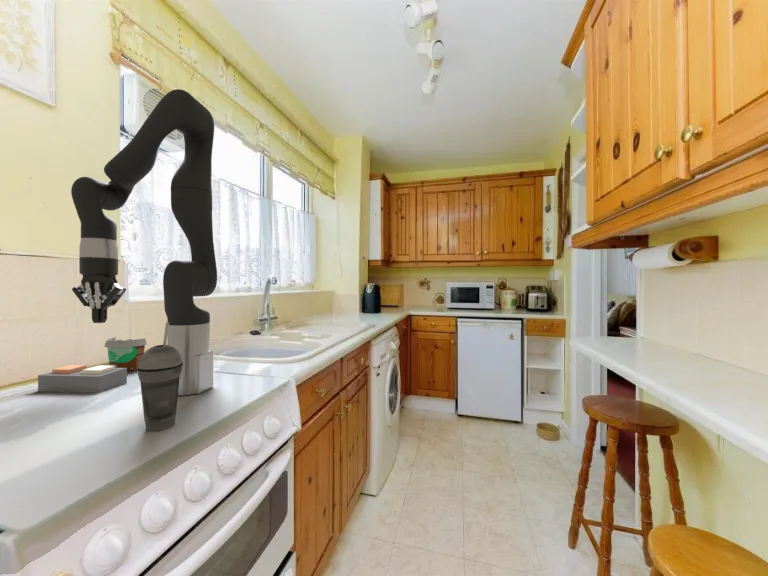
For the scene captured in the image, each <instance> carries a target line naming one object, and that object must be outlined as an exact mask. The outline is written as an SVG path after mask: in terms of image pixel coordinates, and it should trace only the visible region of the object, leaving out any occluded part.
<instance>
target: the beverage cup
mask: <svg viewBox="0 0 768 576" xmlns="http://www.w3.org/2000/svg"><path fill="white" fill-rule="evenodd" d="M168 327H169V322H168V321H165V326H164V334H163V335H164V336H163V341H162V342H163V343H162V344H159V345H153V346H151V347H150V348H148V349H147V350H144V354H143V355H142V356H141V358H140V360H139V363H138V367H137V371H136V372H137V376H138V379H139V382H140V391H141V401H142V410H143V419H144V424H145V425H144V426H145V430H146V432H160V431H165V430H168V429H169V428H171V427H173V426H174V425H175V423H176V422H175V420H176V417H177V409H178V408H177V407H178V389H179V379H180V375H181V371H182V365H183V362H182V357H181V355H180V353H179V351H178V350H177V349H175V348H174V347H172V346H169V345H167V343H168Z"/></svg>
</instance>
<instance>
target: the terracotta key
mask: <svg viewBox="0 0 768 576" xmlns="http://www.w3.org/2000/svg"><path fill="white" fill-rule="evenodd" d="M87 367H88V366H87V365H86V364H70V365H65V366H61V367H57V368H53V369H52V371H51V372H52V374H72V373H76V372H80V371H82V370H84V369H87Z"/></svg>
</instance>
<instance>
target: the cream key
mask: <svg viewBox="0 0 768 576" xmlns="http://www.w3.org/2000/svg"><path fill="white" fill-rule="evenodd" d="M91 367H92V368H88V369H84V370H82V375H101V374H104V373H107V372H111V371H114V370H115V366H109V365H95V366H91Z"/></svg>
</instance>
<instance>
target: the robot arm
mask: <svg viewBox="0 0 768 576" xmlns="http://www.w3.org/2000/svg"><path fill="white" fill-rule="evenodd" d="M175 131H178V132H179V133H181V134H182V135H183V140H184V157H183V159H182V162H181V163H180V166H179V167H178V168H177V169H176V171H175V172H174V174H173V177H172V179H171V182H170V207H171V211H172V213H173V217H174V218H175V220H176V221H177V223H178V225H179V227H180V228H181V230H182V231H183V234H184V235H185V237H186V239H187V241H188V244H189V247H190V258H191V260H181V259H180V260H177V259H176V260H172V261H170V262H169V263H168V264H167V265H166V267H165V268H164V271H163V276H162V287H163V303H164V304H163V307H164V311H165V316H166V318H167V322H169V327H168V335H167V343H166V345H169V346H172V347H174V348H175V349H177V350H178V351H179V353H180V355H181V357H182V362H183V365H182V371H181V375H180V379H179V389H178V396H188V395H189V396H190V395H195V394H196V395H199V394H202V393H204V392H205V391H207V390H208V389H210V388H212V387H214V351H213V350H210V349H211V348H210V346H211V345H210V341H211V339H210V337H211V335H210V334H211V333H210V331H211V329H210V328H211V323H210V322H211V317H210V316H211V315H210V312H209V311H207V310H205V309H202V308H199V307H198V306H197V305H196V304H195V302H194V298H195V297H207V296H210V295H212V293H214V292H215V289H216V288H217V286H218V285H217V283H218V269H217V261H216V254H215V252H216V251H215V246H214V231H213V187H212V184H213V183H212V182H213V181H212V179H213V178H212V172H213V171H212V170H213V169H212V168H213V167H212V165H213V164H212V163H213V162H212V159H213V158H212V157H213V145H214V137H215V120H214V117H213V115H212V113H211V112H210V111H209V109H207V108H206V107H205V105H204V104H202V103H201V102H200V101H199V100H198V99H196V97H194V96H193V95H192V94H191V93H189V92H188V91H186V90H184V89H179V88H177V89H172V90H170V91H168V92H167V93H166V94H165V95H164V96H162V98H161V99H160V100H159V102H157V104H156V105H155V107H154V108H153V110H152V111H151V113H150V114H149V115H148V117H147V118H146V120H145V121H144V122H143V124H142V125H141V127H140V128H139V129H138V131H137V132H136V134H135V135H134V136H133V138H132V139H131V140H130V141H129V142H128V143H127V145H125V146H124V147H123V148H122V149H121V150H120V151H119V152H118V153H116V155H114V157H112V158H111V159H110V160H109V161H107V162H106V164H105V165H104V168H103V172H104V174H105V175H106V177H107V178H108V179H109V182H108V183H107V182H105V181H102V180H99V179H97V178H93V177H89V176H82V177H81V176H80V177H79V178H76V179H75V180H74V181H73V183H72V186H71V187H70V189H71V191H70V192H71V198H72V202H73V204H74V208H75V210H76V213H77V216H78V218H79V222H80V243H79V251H78V252H79V253H78V254H79V255H78V257H79V258H78V259H79V261H78V263H79V274H80V275H82V278H81V280H80V284H79V285H78V286H76V287H75V286H73V287H72V288H71V289H72V292H73V293H74V295H75V296H76V298H78V300H79V302H80V303H81V305H82V306H83V307H88V308H90V309H91V320H92V323H93V324H104V323H106V321H107V320H108V308H110V307H113V306H116V305H117V303H118V302H119V300H120V299H121V297H122V296H123V295H124V294H125V293H126V291H127V288H126V287H125V286H124V287H123V286H122V287H121V286H120V285H119V284H118V280H117V277H116V276H117V275H118V274H119V247H118V242H117V241H118V239H117V238H118V235H117V233H118V226H117V222H116V221H115V220H114V219H112V218H111V217H108V216H106V214H105V213H104V211H103V210H105V211H109V212H110V211H116V210H119V209H120V208H122V207H123V206H124V205H125V204H126V203H127V201H128V199H129V197H130V195H131V194H132V192H133V189H134V187H135V186H136V185H137V184H138V183H140V181H142V179H144V178H145V177H146V176H147V175H149V173H151V171H152V170H153V168H154V167H155V165H156V162H157V159H158V155H159V151H160V148H161V145H162V144H163V141H164V140H165V139H166V138H167V137H168V136H169V135H171V134H172V132H175Z"/></svg>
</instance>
